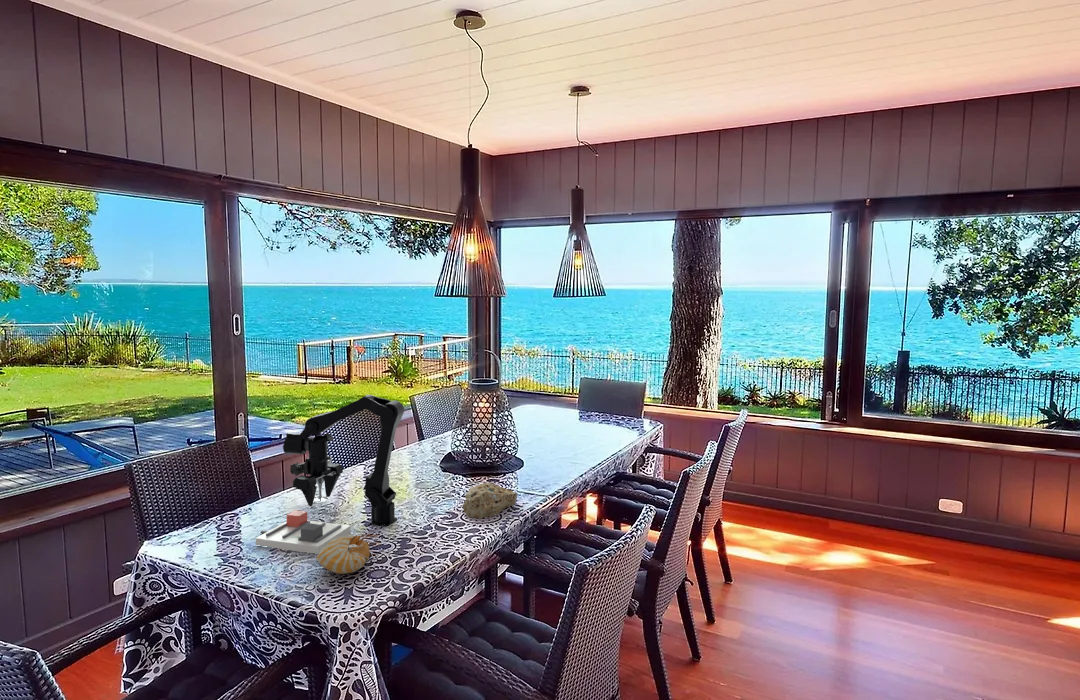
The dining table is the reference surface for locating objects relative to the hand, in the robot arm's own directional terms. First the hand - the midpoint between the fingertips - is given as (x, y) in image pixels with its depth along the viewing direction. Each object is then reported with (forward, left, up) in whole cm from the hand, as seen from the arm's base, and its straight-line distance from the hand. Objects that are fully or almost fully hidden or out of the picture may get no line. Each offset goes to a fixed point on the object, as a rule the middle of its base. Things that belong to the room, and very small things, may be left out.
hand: (319, 501), depth 193 cm
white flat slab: (-3, +15, -6) cm, 16 cm away
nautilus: (-29, +26, -6) cm, 39 cm away
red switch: (0, +11, -4) cm, 12 cm away
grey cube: (-11, +19, -4) cm, 22 cm away
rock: (-50, -24, -6) cm, 56 cm away
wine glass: (+11, -16, -6) cm, 20 cm away
